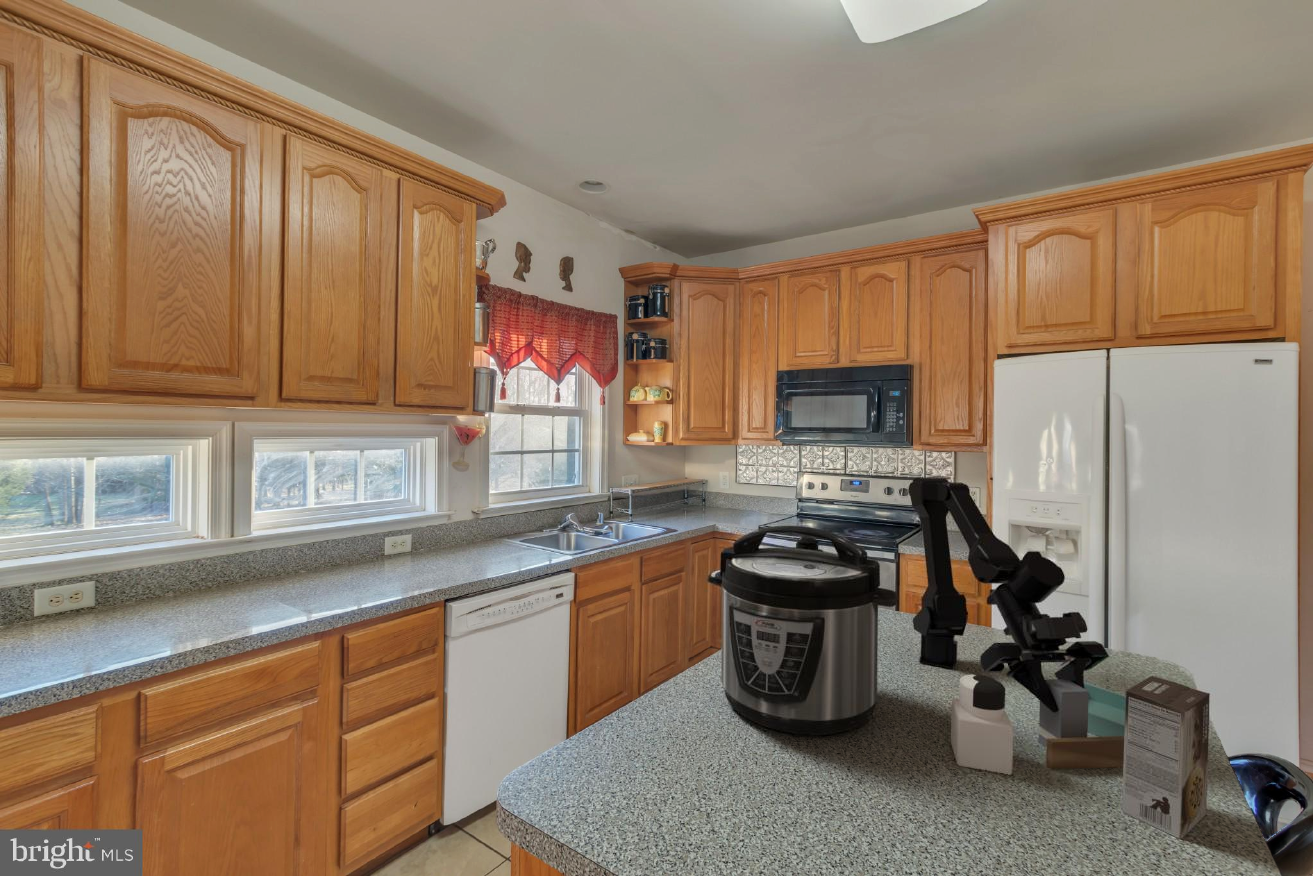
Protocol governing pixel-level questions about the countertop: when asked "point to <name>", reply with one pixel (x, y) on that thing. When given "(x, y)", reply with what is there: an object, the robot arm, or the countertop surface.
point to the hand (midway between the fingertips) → (1070, 711)
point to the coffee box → (1166, 755)
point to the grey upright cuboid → (1064, 712)
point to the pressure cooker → (800, 631)
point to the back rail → (1085, 752)
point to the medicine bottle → (981, 725)
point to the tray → (1105, 711)
